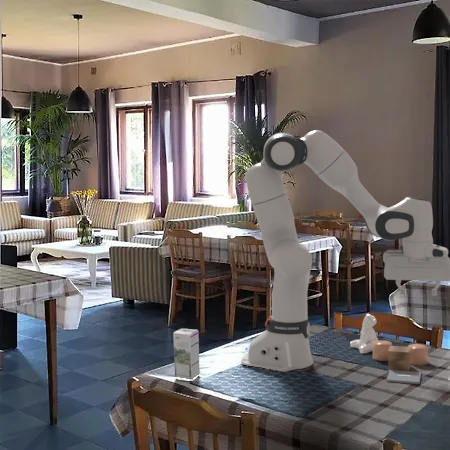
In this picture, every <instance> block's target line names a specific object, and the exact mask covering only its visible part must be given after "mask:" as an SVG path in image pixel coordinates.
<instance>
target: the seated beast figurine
mask: <svg viewBox="0 0 450 450" xmlns="http://www.w3.org/2000/svg"><path fill="white" fill-rule="evenodd" d="M377 322H378V321H377V318H376V317H375V316H374V315H372V314H370V313H366V314H365V316H364V318H363V321H362V327H361V331H360V338H359V339H353V340H351V341H350V342H349V343H350V344H349V347H350V348H352V349H355V348H356V349H358V350H359V353H360V354H363V355H364V354H369V353H370V352H373V348H372V342H373V341H377V340H379V339H378V336H377V334H376V331H375V329H374V328H373V327H374V326H375V325H376V324H377Z"/></svg>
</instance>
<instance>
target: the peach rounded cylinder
mask: <svg viewBox="0 0 450 450" xmlns="http://www.w3.org/2000/svg"><path fill="white" fill-rule="evenodd" d="M407 347H410V365H413V366H425V365H426V366H427V365H428V363H429V347H428V346H427V345H425V344H421V343H414V344H413V343H412V344H409V345H407Z"/></svg>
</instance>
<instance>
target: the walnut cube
mask: <svg viewBox="0 0 450 450" xmlns="http://www.w3.org/2000/svg"><path fill="white" fill-rule="evenodd" d="M387 362H388V364H387V365H388V366H387V370H388V371H389V370H398V371H411V364H410V347H408V346H405V345H404V346H402V345H392V346H390V348H389V351H388V361H387Z"/></svg>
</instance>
